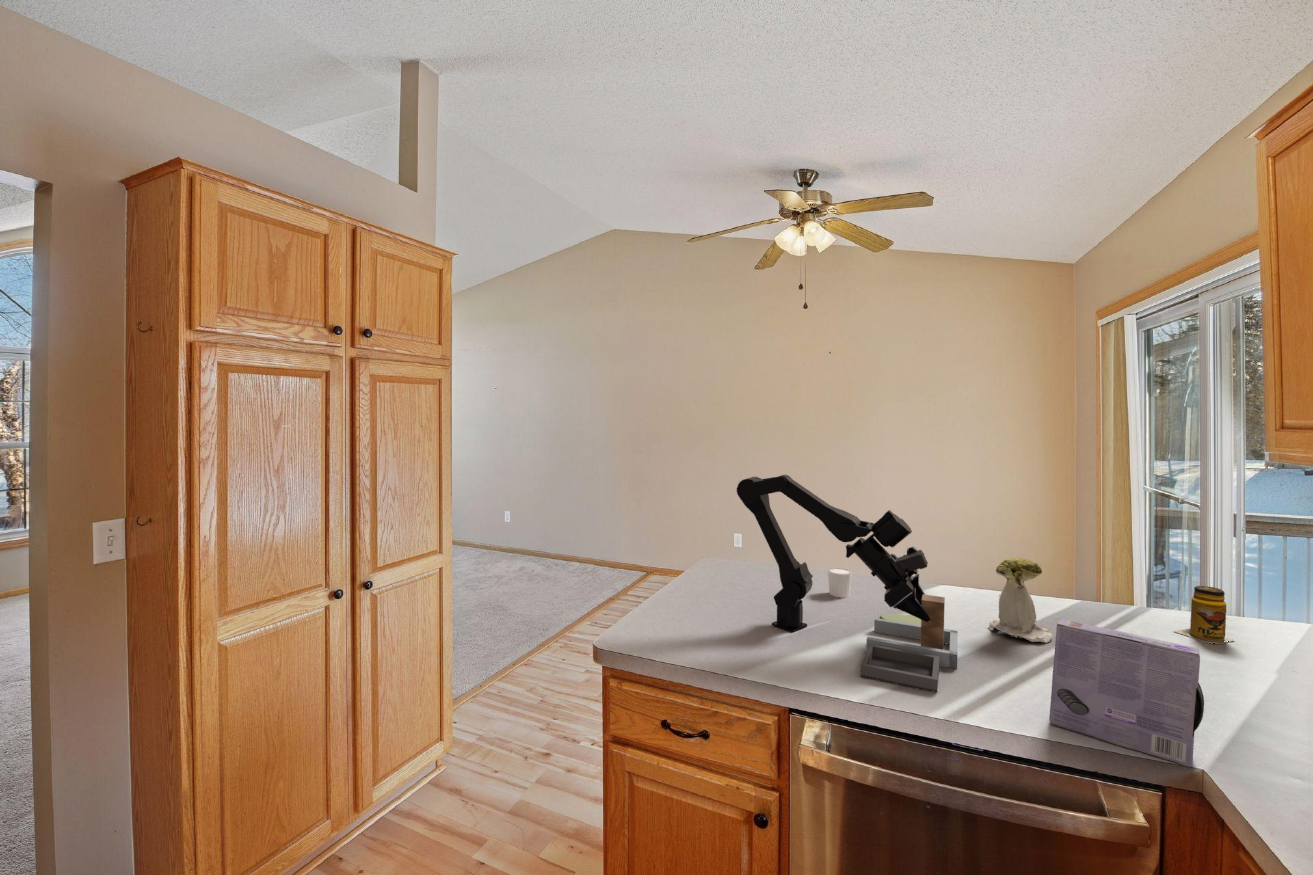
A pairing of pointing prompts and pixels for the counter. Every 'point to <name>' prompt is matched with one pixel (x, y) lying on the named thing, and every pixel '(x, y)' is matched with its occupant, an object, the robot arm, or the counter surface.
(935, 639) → the walnut block
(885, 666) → the tray
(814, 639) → the counter surface
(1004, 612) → the mushroom
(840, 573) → the white cup
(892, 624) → the channel
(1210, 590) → the condiment
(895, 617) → the mat
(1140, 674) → the cake pan box
